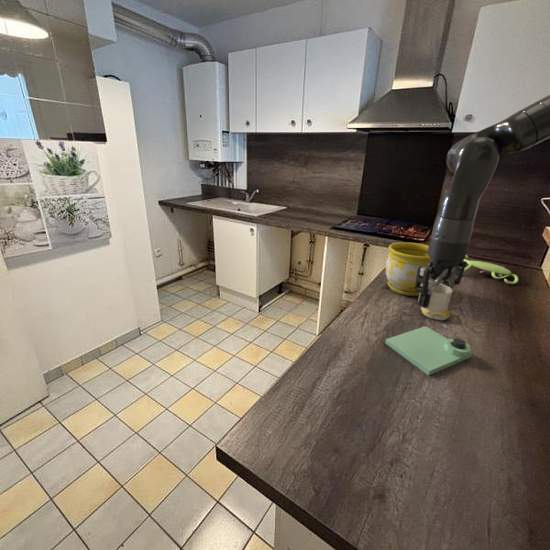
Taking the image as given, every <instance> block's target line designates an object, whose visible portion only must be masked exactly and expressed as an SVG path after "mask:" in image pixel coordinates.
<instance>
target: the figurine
mask: <svg viewBox="0 0 550 550" xmlns="http://www.w3.org/2000/svg"><path fill="white" fill-rule="evenodd" d="M468 259H469V256H468V255H467V254H466V256H465V259H464V260H463V261H465V262H467V265H466V267H465V269H464V272H463V273H465V272H466V271H468V270H470V268H472V267H473V268H474V269H477V270H480V271H479V273H486V272H487V273H491V276H492V278H493V279H495V280H500V279H503V281H504V282H505V284H508V285H516V284H517V283H519V277H518V275H517V274H514V273H512V272H511V270H509V269H508V268H505V267H506V266H505V265H502V264H499V263H498V264H494V263H491V262H486V261H480V260H468ZM509 276H511V277H513V278H514V280H513V281H509V280H508V279H507V278H506V277H509Z"/></svg>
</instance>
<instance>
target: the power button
mask: <svg viewBox="0 0 550 550" xmlns="http://www.w3.org/2000/svg"><path fill="white" fill-rule="evenodd" d="M452 339H453V342H452V346H454V347H455V348H458V349H464V347H465V344H466V343H467V341H465V340H463V339H461V338H457V337H456V338H452Z"/></svg>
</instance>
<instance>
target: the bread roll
mask: <svg viewBox="0 0 550 550" xmlns="http://www.w3.org/2000/svg"><path fill="white" fill-rule="evenodd" d="M420 310H421V313H422V315H424V316H425V317H427V318H429V319H431V320H435V321H440V322H441V321H446V320H448V319H449V318H450V317H451V312H450V311H449V308H448V309H447V310H445V311H444V312H432V311H428V310H426V309H424V308H422V307H421V306H420Z"/></svg>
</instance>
